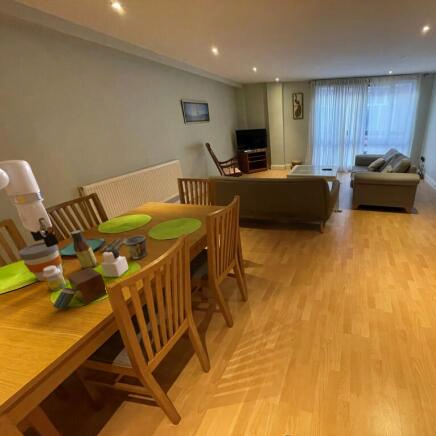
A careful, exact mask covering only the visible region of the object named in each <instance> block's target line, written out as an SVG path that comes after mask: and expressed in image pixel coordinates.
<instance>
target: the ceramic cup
mask: <svg viewBox="0 0 436 436" xmlns="http://www.w3.org/2000/svg"><path fill="white" fill-rule="evenodd" d="M146 240H147V239H146V236H144V235H134V236H130V237H128V238H126V240H125V241H124V242H123V244H124V246H125V248H126V249H127V251H128V253H129V254H130V256H131V258H132V259H134V260H138V259H142V258H144V257H145V256H146V255H147V241H146Z"/></svg>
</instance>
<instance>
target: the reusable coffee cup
mask: <svg viewBox="0 0 436 436" xmlns="http://www.w3.org/2000/svg"><path fill="white" fill-rule="evenodd" d="M18 254H19V258H20V259H21V260H22V261H23V262H24V265H25V267H26V268H27V269H28V271H29V272H30V273H32V274H33V275H34V277H35V278H36V280H37V281H40V282H44V281H45V279H44V277H43V274H44V271H43V269H44V268H46V267H48V266H56V268H57V269H60V271H61V273H62V274H63V273H64V271H63V265H62V263H63V262H62V257H61V256H62V255H61V256H60V253H59V247H58V244H57V245H54V246H51V247H46V244H45V242H44V241H43V242H39V243H34V244H31V245H28V246H26V247H23V248H22V249H20V250H19V251H18ZM45 282H46V281H45Z"/></svg>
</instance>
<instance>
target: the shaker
mask: <svg viewBox="0 0 436 436" xmlns="http://www.w3.org/2000/svg"><path fill="white" fill-rule="evenodd" d="M76 291H77V290H75V289H72V288H71V287H63V288H61V291H60V293H59V295H58V297H57V298H56V300H55V301H54V303H53V305H52V308H54V309H57V310H66V309H68V308H69V306H70V304H71V302H72V300H73V299H74V297H75V293H76Z"/></svg>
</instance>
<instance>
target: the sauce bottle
mask: <svg viewBox="0 0 436 436" xmlns="http://www.w3.org/2000/svg"><path fill="white" fill-rule="evenodd" d="M70 236H71V238H72V241H73V243H74V250H75V253H76V255H75V256H76V257H77V259H78V262H79V264H80V266H81V267H82V269H83V270H84V269H87V268H89V267H90V268H92V269H93V268H95V267H96V266H97V265H98V261H97V257H96V255H95V254H94V251H92V248H91V246H90V245H89V242H88V241H87V240H86V238H84V235H83V231H82V230H81V229H78V230H77V229H76V230H73V231H71V232H70Z"/></svg>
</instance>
